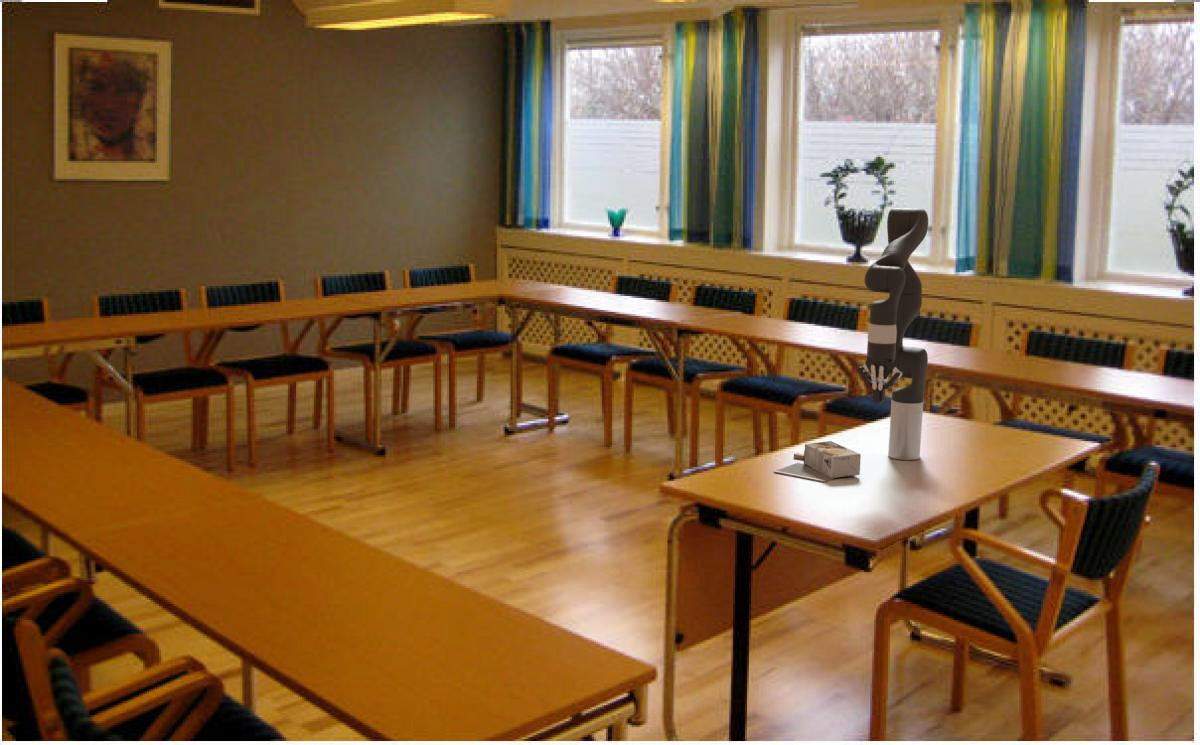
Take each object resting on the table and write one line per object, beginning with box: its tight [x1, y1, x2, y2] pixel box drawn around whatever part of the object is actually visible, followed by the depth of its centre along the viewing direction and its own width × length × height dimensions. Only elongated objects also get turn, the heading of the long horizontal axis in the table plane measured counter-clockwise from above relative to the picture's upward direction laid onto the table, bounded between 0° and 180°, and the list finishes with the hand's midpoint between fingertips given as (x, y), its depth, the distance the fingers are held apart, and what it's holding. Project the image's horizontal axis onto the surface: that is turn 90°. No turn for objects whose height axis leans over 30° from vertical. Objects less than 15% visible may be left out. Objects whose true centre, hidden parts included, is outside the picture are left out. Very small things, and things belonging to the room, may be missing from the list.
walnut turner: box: [793, 452, 804, 461], centre depth 396 cm, size 18×6×1 cm, turn 53°
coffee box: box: [803, 440, 862, 479], centre depth 385 cm, size 9×6×16 cm
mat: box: [773, 461, 835, 483], centre depth 384 cm, size 14×16×1 cm
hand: (878, 402), depth 368 cm, fingers closed
